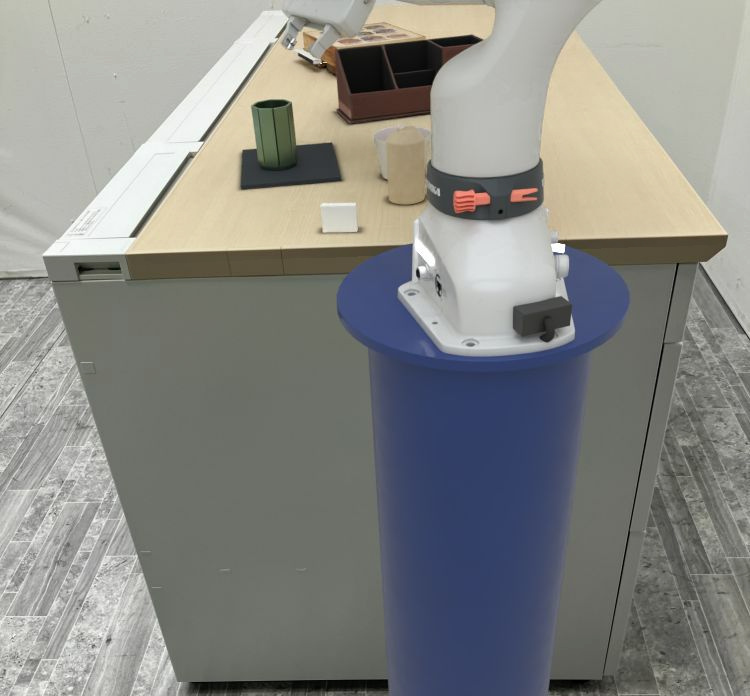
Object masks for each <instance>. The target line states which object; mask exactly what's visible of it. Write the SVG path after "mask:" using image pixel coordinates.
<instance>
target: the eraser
mask: <svg viewBox="0 0 750 696" xmlns="http://www.w3.org/2000/svg"><path fill="white" fill-rule="evenodd" d="M357 204H358V203H357V202H325V203H324V202H322V203H321V204H320V206H319V207H320V219H321V227H322V228H321V229H322V233H357V232H358V231H359V230H358V229H359V221H358V206H357Z"/></svg>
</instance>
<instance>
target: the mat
mask: <svg viewBox="0 0 750 696" xmlns="http://www.w3.org/2000/svg"><path fill="white" fill-rule="evenodd" d="M296 146H297V156H298V159H297V165H296V166H295V167H293V168H290V169H287V170H281V171H268V170H264V169H262V168H261V167H260V163H259V162H258V155H257V148H247V149H242V151H241V171H240V172H241V173H240V174H241V177H240V190H250V189H262V188H263V189H264V188H272V187H273V188H274V187H284V186H285V187H286V186H296V185H308V184H309V185H310V184H320V183H331V182H341V181H342V175H341V171H340V168H339V163H338V160H337V156H336V152H335V148H334V144H333V142H330V141H329V142H318V143H307V144H296Z"/></svg>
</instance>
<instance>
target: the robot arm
mask: <svg viewBox="0 0 750 696" xmlns="http://www.w3.org/2000/svg"><path fill="white" fill-rule="evenodd" d="M396 1H397V2H402V3H407V4H411V5H416V6H487V7H492V8H493V9H494V20H493V26H492V30H491V33H490V34H489V36H487V37H486V38H485V39H484V38H483V39H484V40H483V41H481V42H479V43H477V44H475V45H473V46H471V47H469V48H468V49H466V50H464V51H462V52H461V53H459V54H458V55H456V56H455V57H453V58H452V59H450V60H449V61H448V62H446V63H445V64H444V65H443V66H442V68H441V69H440V70H439V72H438V73H437V75H436V77H435V79H434V81H433V84H432V88H431V93H430V94H431V113H430V132H431V137H430V159H429V160H427V162H426V172H425V187H426V199H427V200H428V202H427V204H426V206H425V208H424V209H423V211H422V212H421V213H420V214H419V215H418V216H417V217H416V219H415V220H414V221H413V225H412V243H413V259H412V281H410V282H407V283H405V284H403V285H401V286H400V287H399V288H398V296H397V297H398V299H399V300H400V302H401V303H402V304H403V305H404V306H405V308H406V309H407V310H408V311H409V313H410V314H411V315H412V316H413V318H414V319H415V320H416V321H417V323H418V324H419V325H420V326H421V328H422V329H423V330H424V331H425V333H426V334H427V335H428V336H429V338H430V339H431V340H432V341H433V343H434V344H435V345H436V346H437V347H438V349H439V350H440V351H442V352H443V353H447V354H452V355H459V356H471V357H492V356H507V355H518V354H526V353H533V352H539V351H544V350H549V349H553V348H556V347H559V346H562V345H565V344H567V343H569V342H571V341H573V340H574V339H575V327H574V323H573V318H572V314H571V312H572V304H571V303H570V302H569V301H568V296H567V292H566V288H565V283H564V279H563V278H565V277H567V276H568V271H569V257H568V255H555V256H554V255H553V251H555V252H561V253H563V252H564V248H565V246H566V244H562V243H558V242H559V231H558V230H550V229H551V228H550V223H549V212H550V209H549V208H548V207H547V206H546V205H544V204H543V203H544V200H545V191H544V190H545V189H544V187H545V173H544V161H543V159H542V157H540V156H541V144H542V134H543V125H544V117H545V110H546V108H545V107H546V103H547V97H548V90H549V86H550V82H551V77H552V75H553V71H554V69H555V66H556V63H557V60H558V58H559V57H560V54H561V52H562V50H563V48H564V47H565V45H566V43H567V41H568V40H569V38H570V36H571V35H572V34H573V33H574V31H575V29H577V27H578V25H580V23H581V22H582V21H583V20H584V19H585V17H586V16H587V15H588V14H589V13H590V12H591V11H592V10H594V8H596V7H597V6H599V4H600V3H601V2H603V0H396ZM376 2H377V0H283V2H282V6H281V7H282V8H281V12H282V13H283V14H284V15H285V16H286V18H288V20H287V23H286V27H285V32H284V34H283V36H282V38H281V39H280V45H281V46H282V47H283V48H284V49H285V50H288V51H293V50H294V48H295V46H296V45H297V43H298V41H297V38H298V35H299V33H301V32H303V31H302V30H303V29H304V28H307V29H312V30H314V31H316V30H319V31H323V33H322V34H321V36H320V37H319V38H318V39H317V40H316V41H313V42H312V44H311V46H310V47H309V48H308V52H309V53H310V54H311V55H312V56H313V57H314V58H317V59H320V58H321V57H322V55H323V54H324V52H325V50H327V49H328V48H329V47H330V46H331V45H333V44H334V43H335V42H336V41H337V39H338V38H339V36H343V37H347V38H354V37H355V36H356V35H357V34H358V33H359V32H360V31H361V29H362V27H363V26H364V25H366V22H367V20H368V19H369V17H370V15H371V12H372V10H373V9H374V7H375V5H376Z"/></svg>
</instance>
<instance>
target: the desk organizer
mask: <svg viewBox="0 0 750 696" xmlns="http://www.w3.org/2000/svg"><path fill="white" fill-rule="evenodd" d="M483 40H484V38H482V37H479V36H477V35H474V34H473V33H471V34H465V35H464V34H463V35H456V36H455V35H454V36H444V37H436V38H428V39H427V38H426V40H417V41H407V42H398V43H389V44H379V45H370V46H360V47H351V48H342V49H335V62H336V74H335V75H336V88H337V101H338V102H337V103H338V108H336V109H335V110H336V112H337V113H338V114H339V115H340V116H341V117H342V118H343V119H344V120H345V121H347V122H348V123H349V124H350V125H352V124H359V123H366V122H367V123H368V122H374V121H380V120H381V121H382V120H389V119H396V118H403V117H404V118H405V117H411V116H420V115H429V114H431V94H430V93H431V88H432V84H433V81H434V79H435V77H436V75H437V73H438V72H439V70H440V69H441V68H442V66H443V65H444V64H445V63H446V62H448V61H449V60H450V59H452V58H453V57H455V56H456V55H458V54H459V53H461V52H462V51H464V50H466V49H468V48H469V47H471V46H473V45H475V44H477V43H479V42H481V41H483Z"/></svg>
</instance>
